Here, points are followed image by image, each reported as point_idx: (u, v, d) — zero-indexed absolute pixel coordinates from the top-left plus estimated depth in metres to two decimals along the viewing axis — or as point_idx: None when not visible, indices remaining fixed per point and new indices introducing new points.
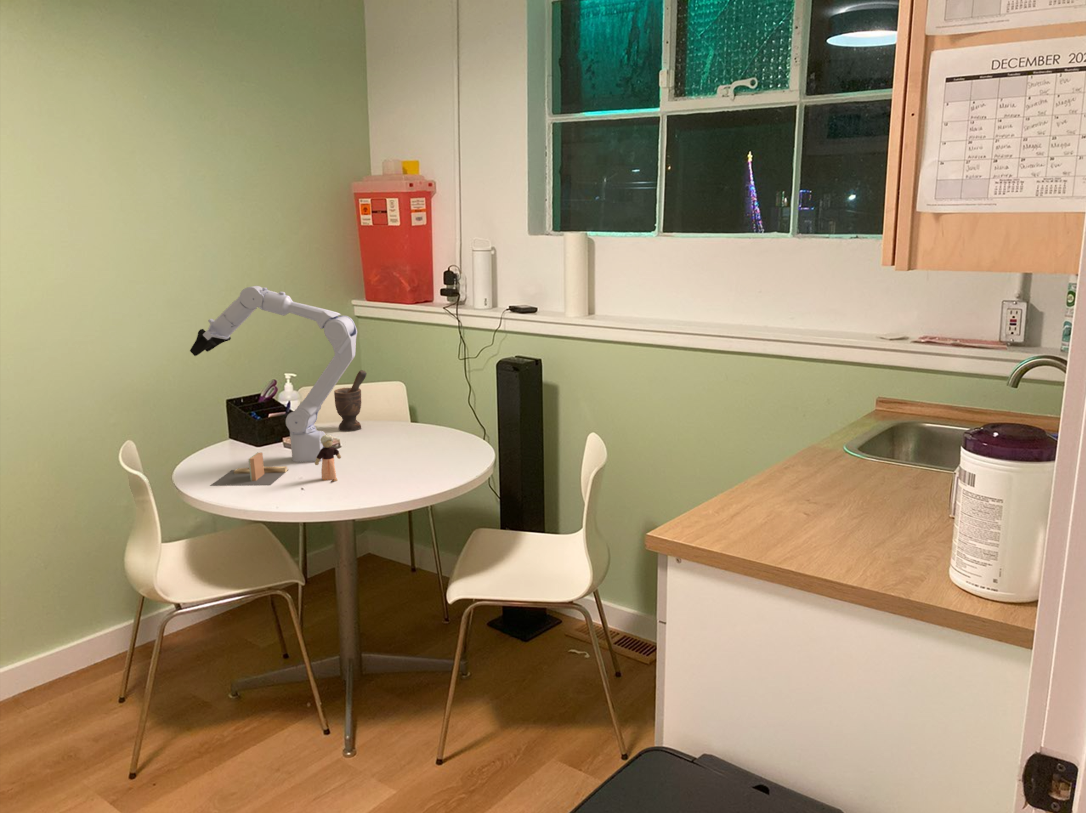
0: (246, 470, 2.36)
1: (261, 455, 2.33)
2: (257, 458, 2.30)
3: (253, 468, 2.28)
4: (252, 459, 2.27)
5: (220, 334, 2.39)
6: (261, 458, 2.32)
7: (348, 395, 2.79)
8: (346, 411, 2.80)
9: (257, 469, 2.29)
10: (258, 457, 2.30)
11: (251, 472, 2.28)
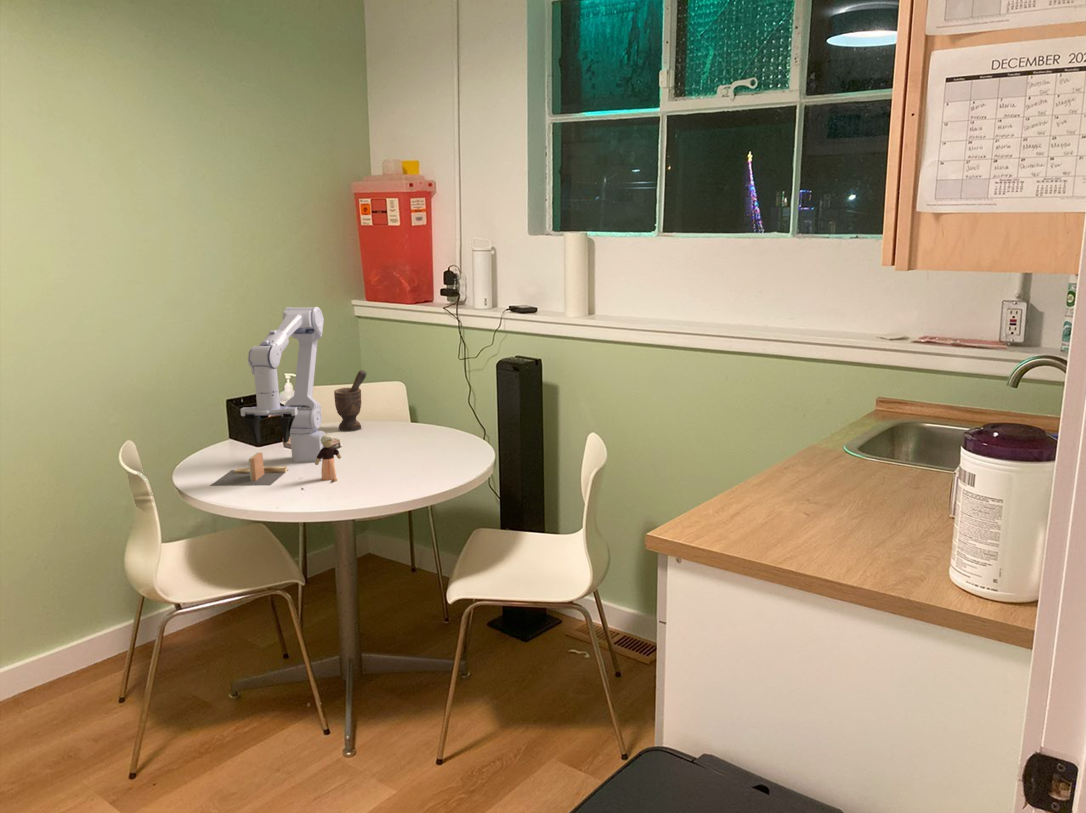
0: (246, 470, 2.36)
1: (261, 455, 2.33)
2: (257, 458, 2.30)
3: (253, 468, 2.28)
4: (252, 459, 2.27)
5: (280, 406, 2.28)
6: (261, 458, 2.32)
7: (348, 395, 2.79)
8: (346, 411, 2.80)
9: (257, 469, 2.29)
10: (258, 457, 2.30)
11: (251, 472, 2.28)
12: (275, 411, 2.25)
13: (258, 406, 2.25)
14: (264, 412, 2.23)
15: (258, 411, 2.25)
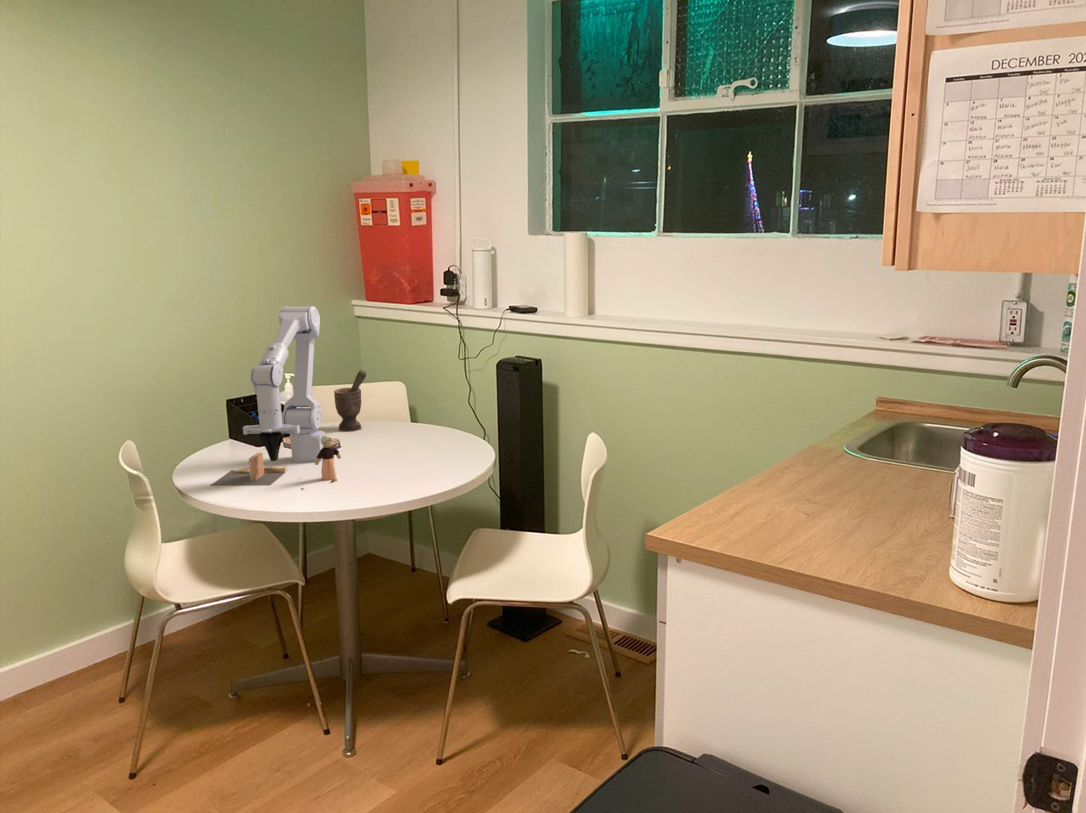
0: (246, 470, 2.36)
1: (261, 455, 2.33)
2: (257, 458, 2.30)
3: (253, 468, 2.28)
4: (252, 459, 2.27)
5: (282, 425, 2.29)
6: (261, 458, 2.32)
7: (348, 395, 2.79)
8: (346, 411, 2.80)
9: (257, 469, 2.29)
10: (258, 457, 2.30)
11: (251, 472, 2.28)
12: (277, 429, 2.26)
13: (260, 424, 2.26)
14: (267, 431, 2.24)
15: (260, 429, 2.26)
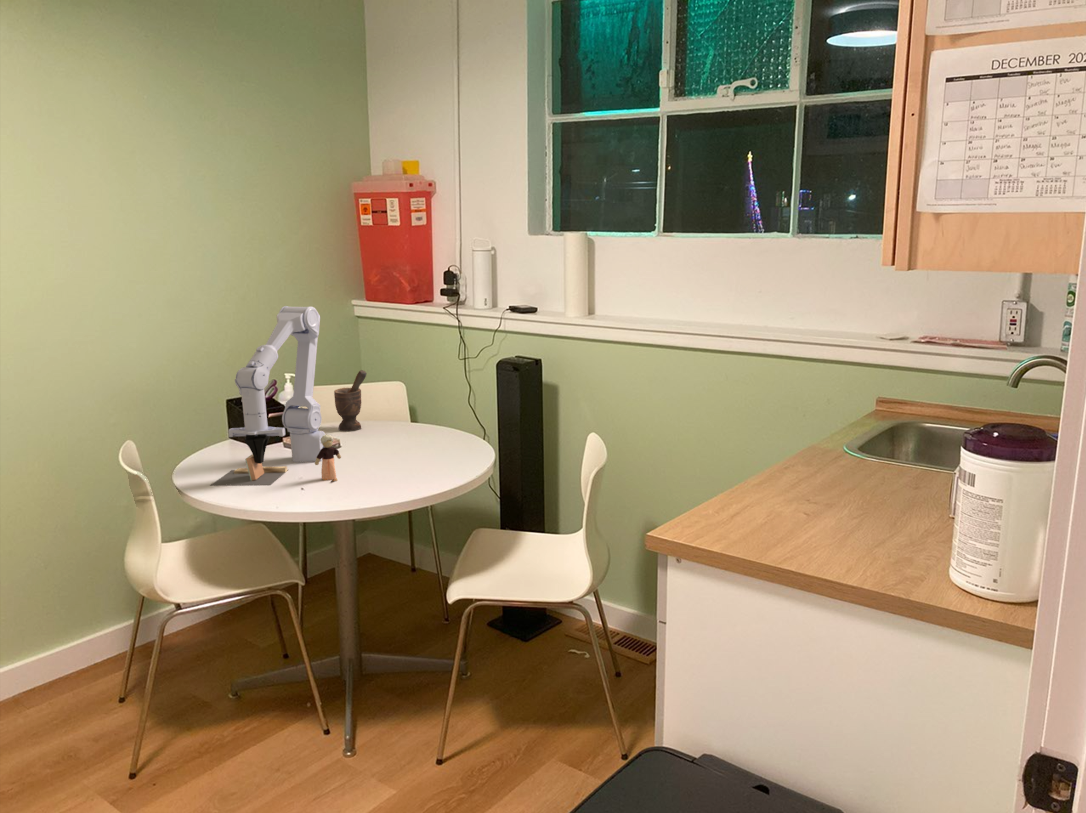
0: (246, 470, 2.36)
1: None
2: None
3: (251, 468, 2.28)
4: (249, 459, 2.27)
5: (268, 427, 2.30)
6: None
7: (348, 395, 2.79)
8: (346, 411, 2.80)
9: (255, 468, 2.29)
10: None
11: (250, 472, 2.28)
12: (263, 432, 2.26)
13: (246, 427, 2.26)
14: (252, 433, 2.25)
15: (246, 432, 2.26)
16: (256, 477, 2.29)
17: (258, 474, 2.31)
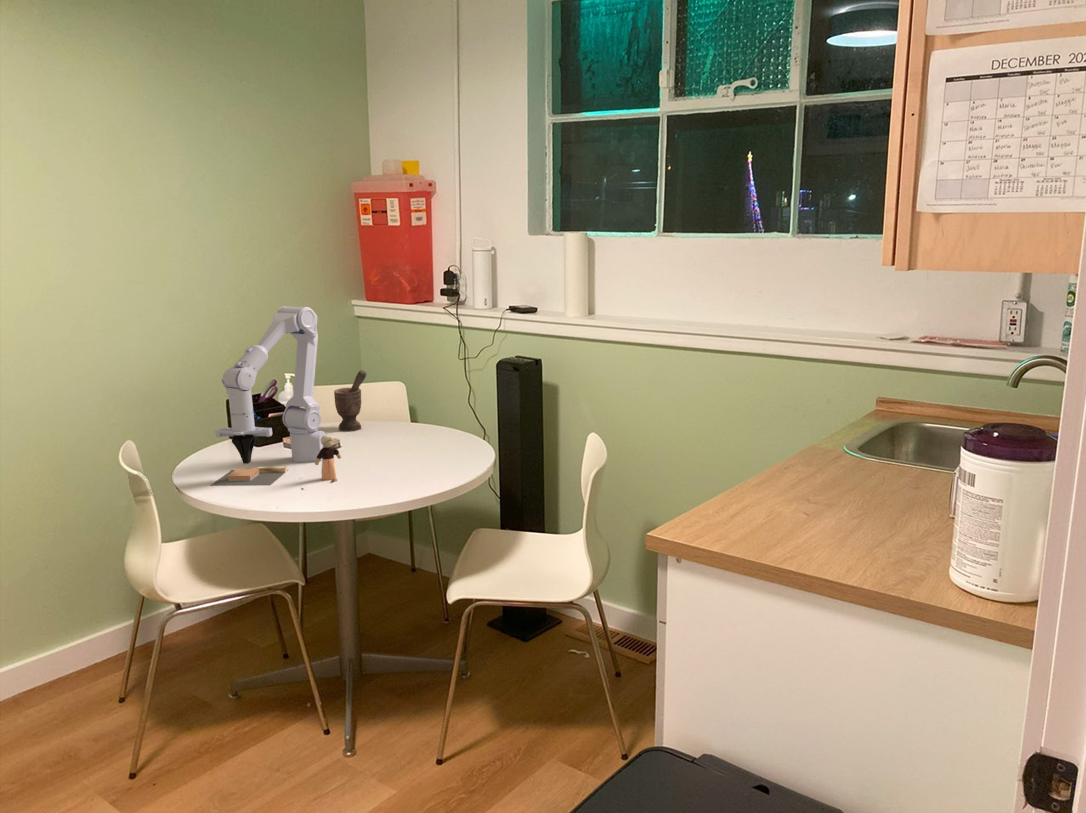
0: None
1: (238, 469, 2.34)
2: (233, 473, 2.31)
3: (237, 477, 2.28)
4: (228, 477, 2.29)
5: (255, 427, 2.30)
6: (240, 470, 2.33)
7: (348, 395, 2.79)
8: (346, 411, 2.80)
9: (242, 473, 2.30)
10: (234, 472, 2.32)
11: (242, 479, 2.29)
12: (250, 432, 2.26)
13: (233, 427, 2.27)
14: (238, 433, 2.25)
15: (233, 432, 2.26)
16: (249, 474, 2.29)
17: (250, 473, 2.31)
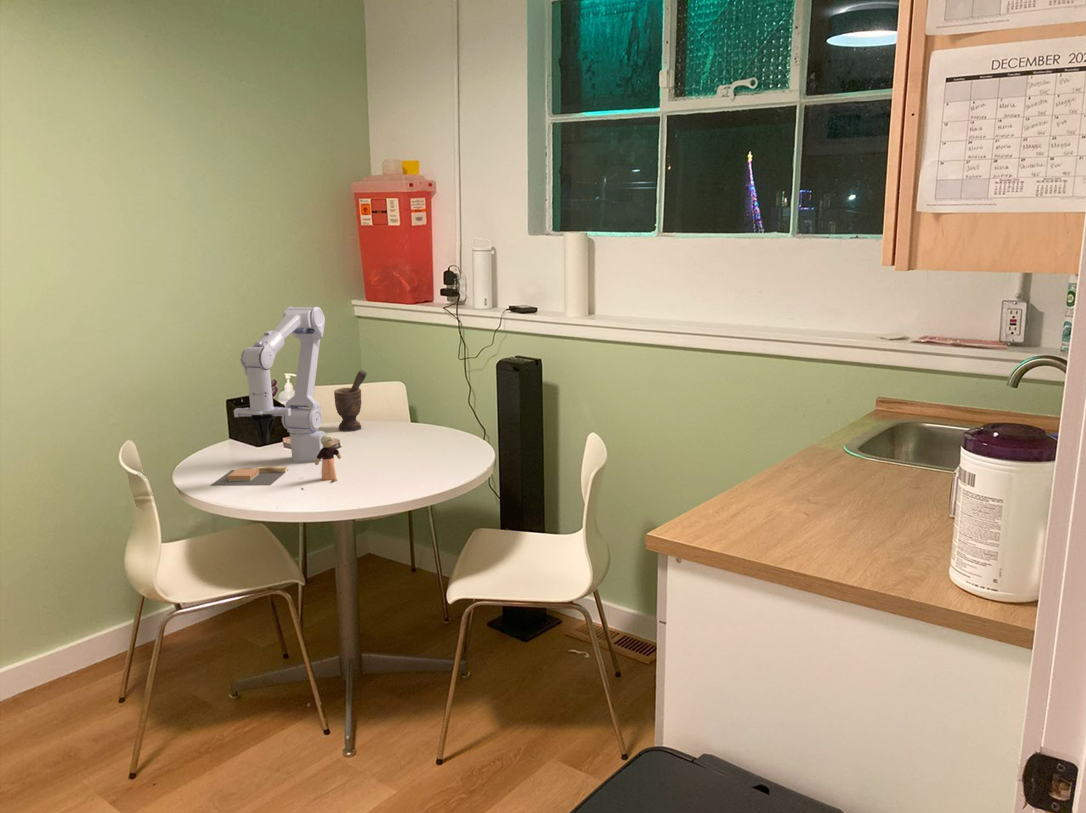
0: None
1: (238, 469, 2.34)
2: (233, 473, 2.31)
3: (237, 477, 2.28)
4: (228, 477, 2.29)
5: (273, 407, 2.28)
6: (240, 470, 2.33)
7: (348, 395, 2.79)
8: (346, 411, 2.80)
9: (242, 473, 2.30)
10: (234, 472, 2.32)
11: (242, 479, 2.29)
12: (268, 412, 2.25)
13: (251, 407, 2.25)
14: (257, 413, 2.23)
15: (251, 412, 2.25)
16: (249, 474, 2.29)
17: (250, 473, 2.31)
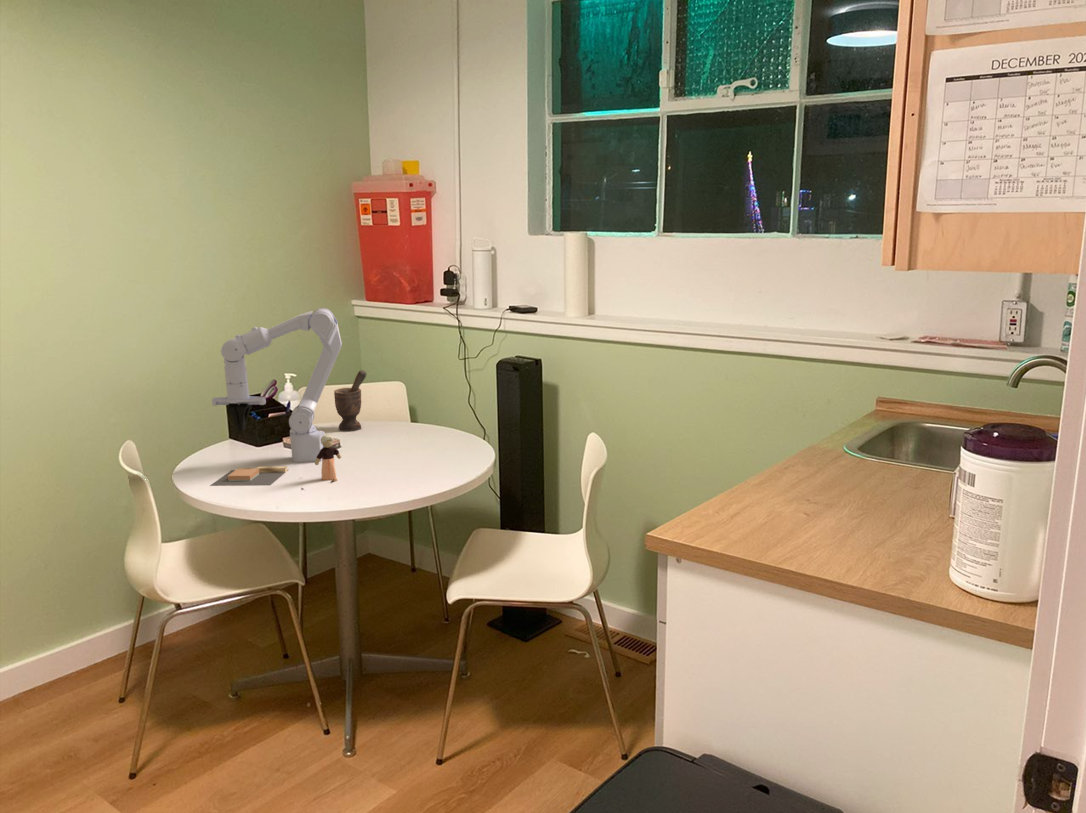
0: None
1: (238, 469, 2.34)
2: (233, 473, 2.31)
3: (237, 477, 2.28)
4: (228, 477, 2.29)
5: (249, 396, 2.43)
6: (240, 470, 2.33)
7: (348, 395, 2.79)
8: (346, 411, 2.80)
9: (242, 473, 2.30)
10: (234, 472, 2.32)
11: (242, 479, 2.29)
12: (244, 401, 2.39)
13: (228, 396, 2.39)
14: (234, 401, 2.38)
15: (228, 401, 2.39)
16: (249, 474, 2.29)
17: (250, 473, 2.31)
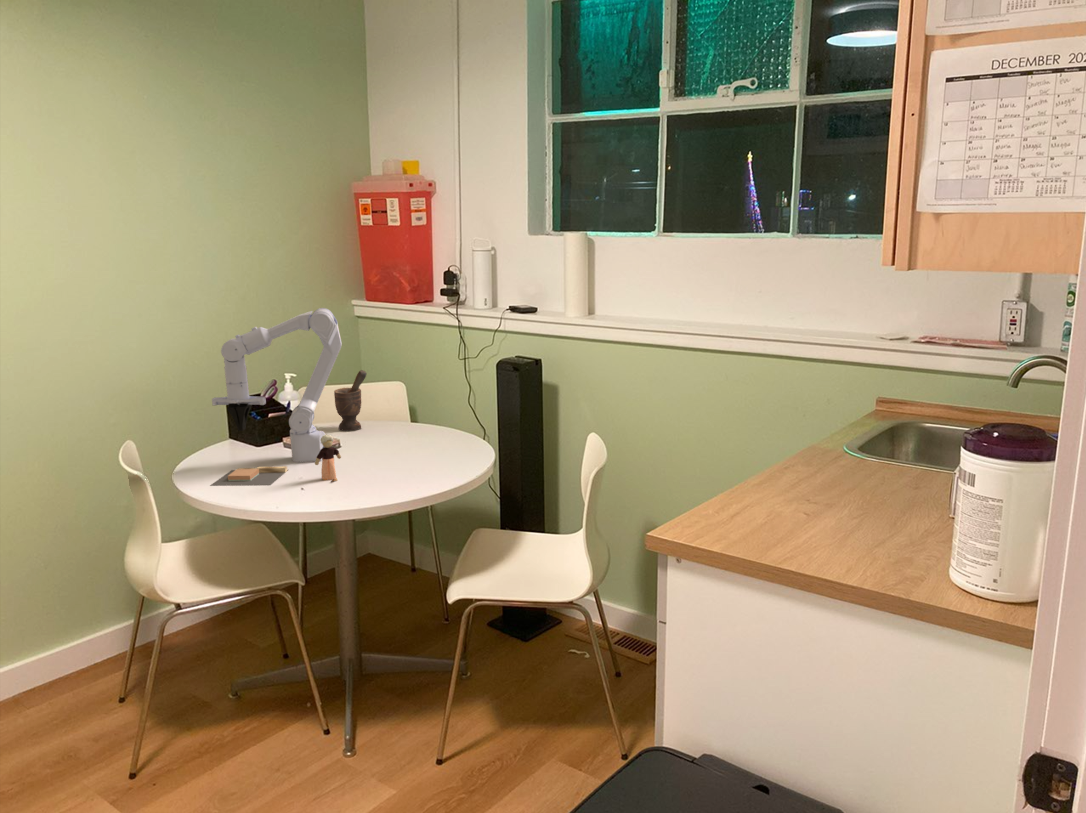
0: None
1: (238, 469, 2.34)
2: (233, 473, 2.31)
3: (237, 477, 2.28)
4: (228, 477, 2.29)
5: (249, 396, 2.43)
6: (240, 470, 2.33)
7: (348, 395, 2.79)
8: (346, 411, 2.80)
9: (242, 473, 2.30)
10: (234, 472, 2.32)
11: (242, 479, 2.29)
12: (244, 401, 2.39)
13: (228, 396, 2.39)
14: (234, 401, 2.38)
15: (228, 401, 2.39)
16: (249, 474, 2.29)
17: (250, 473, 2.31)
